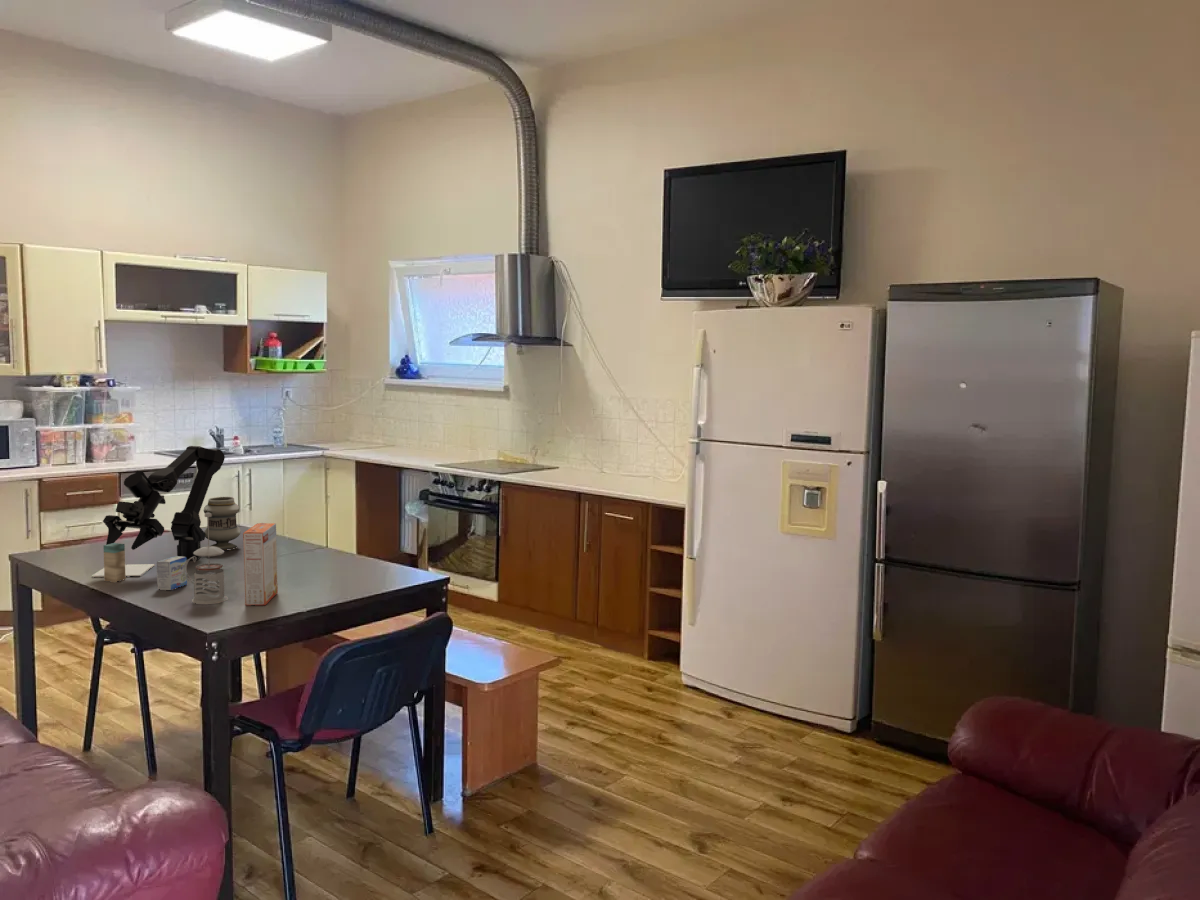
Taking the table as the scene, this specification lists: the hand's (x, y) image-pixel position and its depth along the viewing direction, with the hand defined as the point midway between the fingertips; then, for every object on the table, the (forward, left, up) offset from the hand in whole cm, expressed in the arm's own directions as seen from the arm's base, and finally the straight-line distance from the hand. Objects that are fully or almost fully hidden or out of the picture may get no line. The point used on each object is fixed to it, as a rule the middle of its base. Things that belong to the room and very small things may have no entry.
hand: (119, 547), depth 286 cm
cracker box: (-46, +28, -10) cm, 55 cm away
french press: (-31, +27, -10) cm, 42 cm away
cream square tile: (+2, -9, -10) cm, 14 cm away
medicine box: (-18, +12, -10) cm, 24 cm away
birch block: (+1, +2, -10) cm, 10 cm away
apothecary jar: (-20, -44, -10) cm, 49 cm away
